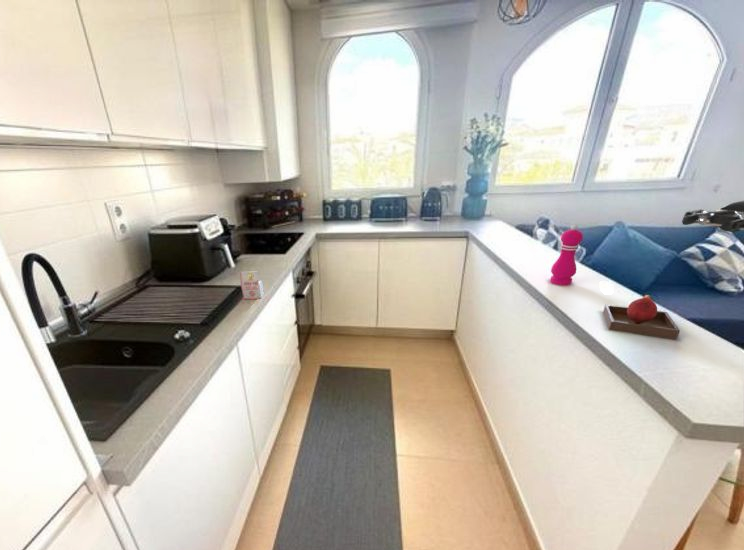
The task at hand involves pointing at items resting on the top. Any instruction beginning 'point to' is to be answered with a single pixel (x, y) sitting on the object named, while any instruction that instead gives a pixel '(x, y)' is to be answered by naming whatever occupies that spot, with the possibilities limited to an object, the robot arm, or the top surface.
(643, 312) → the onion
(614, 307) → the serving tray
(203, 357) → the top surface
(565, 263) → the pepper mill
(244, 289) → the pink carton box
